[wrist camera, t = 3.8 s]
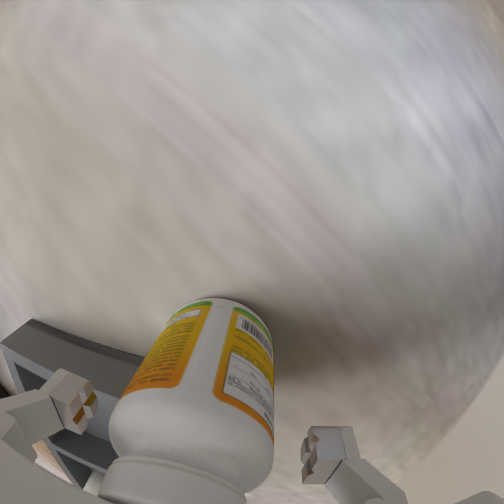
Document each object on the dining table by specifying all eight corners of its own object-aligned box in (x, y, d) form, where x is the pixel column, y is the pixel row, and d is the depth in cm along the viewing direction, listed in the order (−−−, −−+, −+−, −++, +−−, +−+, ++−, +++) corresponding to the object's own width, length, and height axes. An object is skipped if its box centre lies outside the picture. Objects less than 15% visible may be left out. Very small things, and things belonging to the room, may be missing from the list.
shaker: (94, 451, 17) (68, 499, 11) (135, 467, 17) (113, 520, 11) (103, 471, 18) (83, 514, 12) (141, 485, 18) (124, 532, 12)
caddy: (31, 318, 14) (-1, 342, 11) (162, 362, 14) (139, 404, 11) (89, 469, 20) (78, 490, 16) (175, 499, 20) (168, 524, 16)
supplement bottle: (165, 370, 14) (95, 517, 5) (170, 283, 13) (44, 445, 4) (261, 391, 14) (250, 557, 5) (285, 307, 13) (301, 516, 4)
